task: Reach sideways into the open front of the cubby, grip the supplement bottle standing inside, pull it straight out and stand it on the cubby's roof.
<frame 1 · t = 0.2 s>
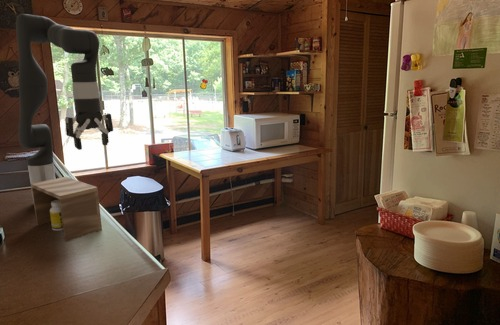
hand: (92, 147, 117), 29 cm above the kitchen counter, tool pointing down, fingers open, 8 cm apart
cubby: (68, 227, 125), on the kitchen counter
supplement bottle: (61, 228, 125), on the kitchen counter
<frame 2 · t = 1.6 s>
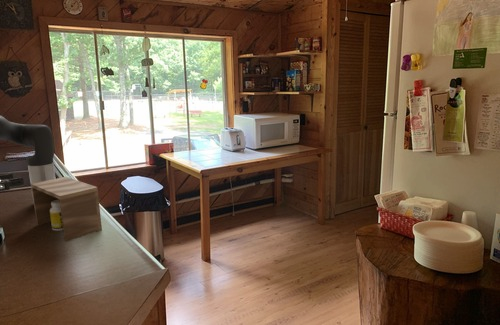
hand: (17, 178, 112), 20 cm above the kitchen counter, tool horizontal, fingers open, 8 cm apart
nothing on the kitchen counter moved.
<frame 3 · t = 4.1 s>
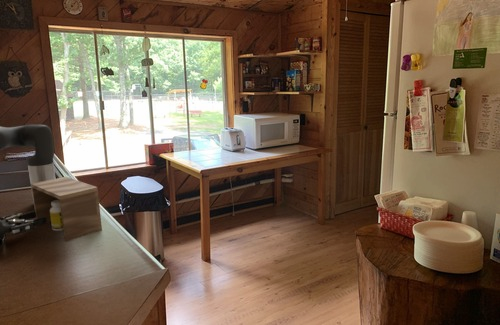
hand: (40, 216, 119), 6 cm above the kitchen counter, tool horizontal, fingers open, 8 cm apart
nothing on the kitchen counter moved.
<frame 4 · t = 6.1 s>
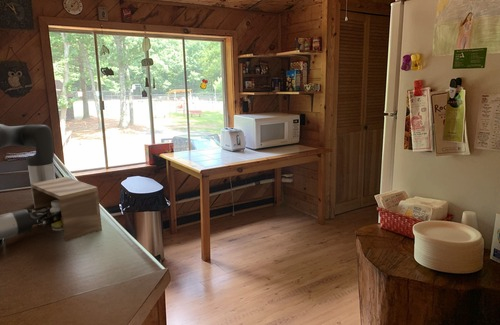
hand: (66, 209, 125), 6 cm above the kitchen counter, tool horizontal, fingers closed on supplement bottle, 5 cm apart
supplement bottle: (61, 228, 125), on the kitchen counter, touching gripper
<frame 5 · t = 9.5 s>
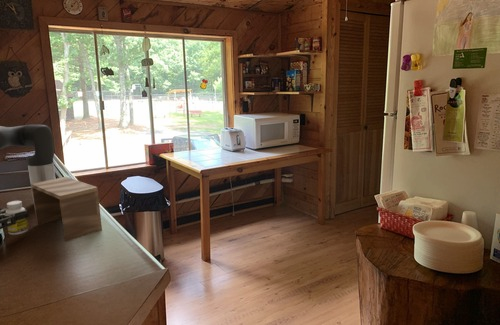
hand: (24, 211, 115), 9 cm above the kitchen counter, tool horizontal, fingers closed on supplement bottle, 5 cm apart
supplement bottle: (18, 232, 114), point 3 cm above the kitchen counter, touching gripper
when the fingers open (22 cm above the kitchen counter, at t = 13.2 s): supplement bottle stays where it is, resting on cubby.
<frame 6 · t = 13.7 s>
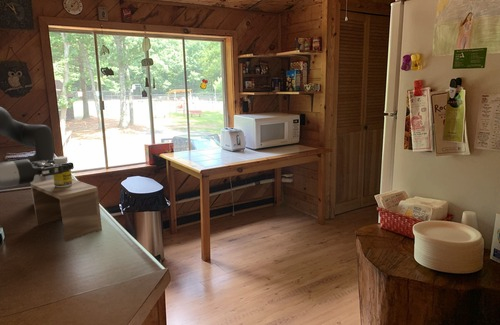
hand: (67, 163, 121), 22 cm above the kitchen counter, tool horizontal, fingers open, 8 cm apart
supplement bottle: (63, 186, 121), point 15 cm above the kitchen counter, touching cubby
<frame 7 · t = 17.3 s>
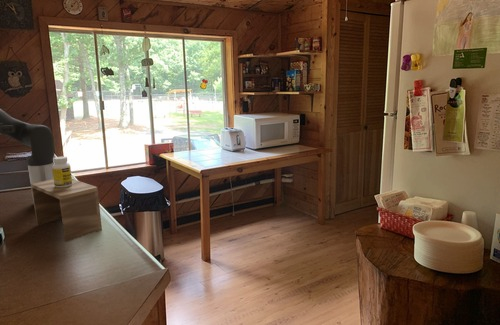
hand: (9, 127, 110), 36 cm above the kitchen counter, tool horizontal, fingers open, 8 cm apart
nothing on the kitchen counter moved.
at the end: supplement bottle inside the target area (0.1 cm from its centre), point 15.0 cm above the kitchen counter; supplement bottle tilted 0°; the gripper is holding nothing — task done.
